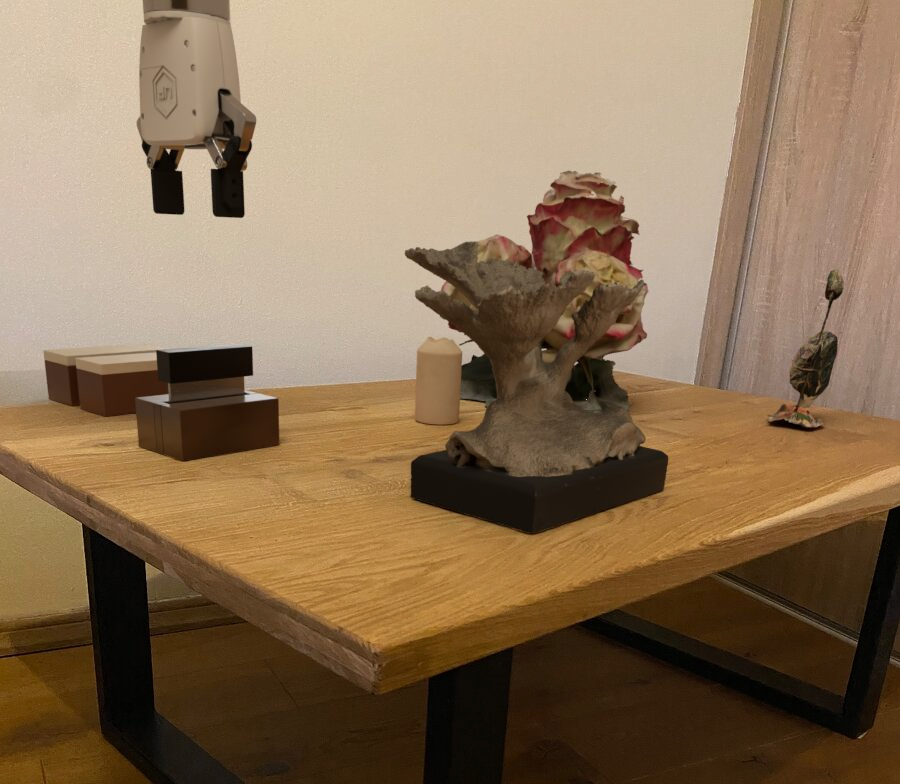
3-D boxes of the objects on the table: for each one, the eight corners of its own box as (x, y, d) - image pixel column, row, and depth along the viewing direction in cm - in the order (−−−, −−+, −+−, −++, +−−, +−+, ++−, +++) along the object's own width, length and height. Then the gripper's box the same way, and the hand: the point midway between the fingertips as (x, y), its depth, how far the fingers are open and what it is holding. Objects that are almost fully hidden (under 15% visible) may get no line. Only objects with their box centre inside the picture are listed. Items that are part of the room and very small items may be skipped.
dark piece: (175, 454, 93) (168, 352, 89) (162, 450, 94) (155, 349, 91) (255, 441, 100) (252, 346, 96) (242, 437, 102) (239, 344, 98)
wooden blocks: (105, 416, 108) (100, 364, 106) (48, 399, 116) (42, 350, 114) (206, 404, 118) (204, 356, 116) (147, 388, 126) (144, 343, 124)
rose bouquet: (414, 394, 132) (422, 163, 121) (564, 383, 149) (583, 178, 138) (532, 429, 114) (555, 159, 102) (688, 412, 130) (723, 178, 119)
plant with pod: (842, 423, 127) (875, 270, 120) (808, 433, 120) (840, 269, 112) (786, 414, 132) (814, 265, 125) (750, 422, 125) (777, 265, 117)
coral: (503, 545, 72) (525, 249, 64) (333, 488, 84) (333, 235, 76) (671, 492, 89) (705, 254, 81) (508, 451, 101) (524, 242, 93)
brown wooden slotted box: (183, 461, 91) (180, 410, 89) (138, 446, 96) (134, 397, 94) (279, 445, 99) (278, 398, 97) (234, 432, 104) (232, 387, 102)
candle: (407, 421, 114) (410, 338, 110) (425, 414, 119) (428, 334, 115) (448, 427, 112) (452, 342, 109) (465, 419, 117) (469, 338, 113)
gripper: (97, 9, 85) (114, 211, 91) (208, -13, 75) (219, 217, 81) (168, 24, 90) (180, 214, 97) (282, 6, 80) (286, 220, 86)
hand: (198, 215), depth 89 cm, fingers open, 9 cm apart
